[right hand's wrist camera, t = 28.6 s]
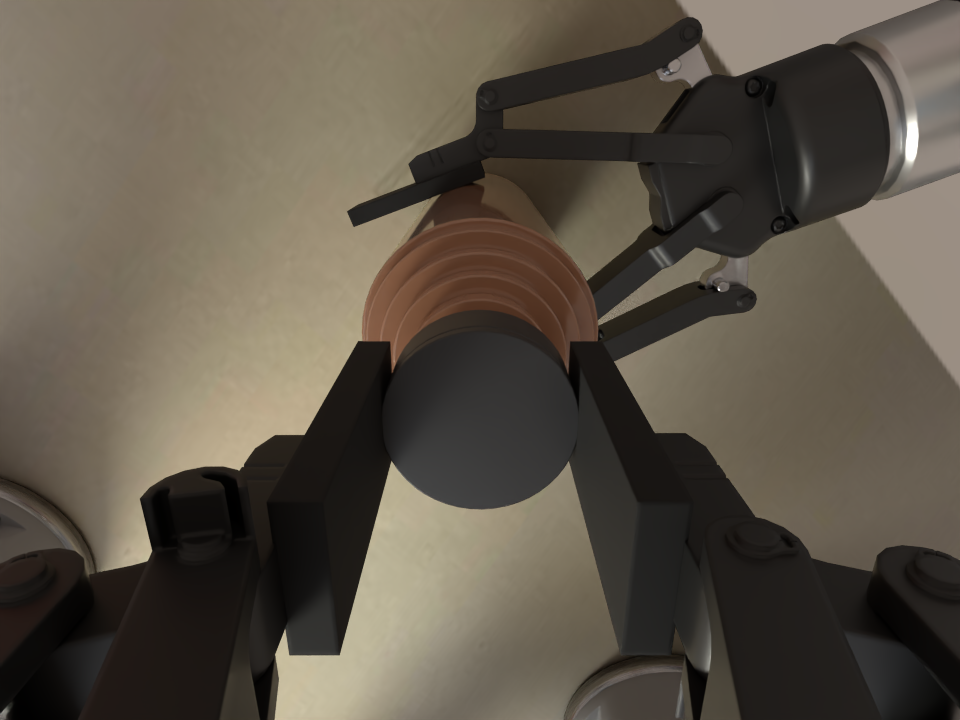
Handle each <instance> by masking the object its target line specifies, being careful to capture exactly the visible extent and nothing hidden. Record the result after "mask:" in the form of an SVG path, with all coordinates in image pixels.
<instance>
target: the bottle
mask: <svg viewBox="0 0 960 720" xmlns="http://www.w3.org/2000/svg"><path fill="white" fill-rule="evenodd" d="M469 310H492V311H498V312H503V313H507V314H510V315H513V316H516V317H518V318H520V319H522V320H525V321H526V322H528V323H530V324H531V325H533V326H535V327H536V328H537V329H538V330H540V331H541V332H542V333H543V334H545V335H546V337H547V338H548V339H549V340H550V341H551V342H552V343H553V344H554V346H555V347H556V349H557V350H558V352H559V353H560V355H561V357H562V359H563V361H564V363H565V366H566V369H567V372H568V370H569V352H570V341H598V318H597V311H596V306H595V302H594V298H593V296H592V293H591V290H590V288H589V285H588V283H587V281H586V279H585V278H584V276H583V274H582V272H581V271H580V269H579V268H578V266H577V265H576V264H575V262H574V261H573V259H572V258H571V256H570V255H569V254H568V252H567V251H566V249H565V248H564V247H563V245H562V244H561V242H560V241H559V240H558V238H557V237H556V235H555V234H554V232H553V231H552V230H551V228H550V227H549V225H548V224H547V223H546V221H545V220H544V218H543V217H542V216H541V214H540V213H539V211H538V210H537V208H536V207H535V206H534V204H533V203H532V201H531V200H530V199H529V197H528V196H527V195H526V193H525V192H524V191H523V190H522V189H521V188H520V187H518V186H517V185H516V184H514V183H513V182H511V181H509V180H508V179H506V178H503V177H501V176H498V175H494V174H490V173H485V178H482V179H480V180H477V181H474V182H472V183H469V184H466V185H464V186H461V187H459V188H456V189H453V190H451V191H448V192H445V193H443V194H440V195H437V196H435V197H432V198H431V199H430V200H429V202H428V203H427V204H426V206H425V207H424V209H423V210H422V211H421V213H420V214H419V216H418V217H417V219H416V220H415V221H414V223H413V224H412V226H411V227H410V229H409V230H408V231H407V233H406V234H405V236H404V237H403V238H402V240H401V241H400V243H399V244H398V246H397V247H396V248H395V250H394V251H393V253H392V254H391V256H390V257H389V258H388V260H387V261H386V263H385V264H384V266H383V267H382V268H381V270H380V271H379V273H378V274H377V276H376V278H375V280H374V282H373V284H372V286H371V288H370V291H369V294H368V296H367V299H366V302H365V307H364V313H363V320H362V339H363V341H390V345H391V363H392V372H393V370H394V367H395V364H396V362H397V360H398V358H399V356H400V354H401V352H402V351H403V349H404V348H405V346H406V345H407V344H408V343H409V341H410V340H411V339H412V338H413V337H414V336H415V335H416V334H417V333H418V332H419V331H420V330H422V329H423V328H425V327H426V326H427V325H429V324H430V323H432V322H434V321H436V320H438V319H440V318H442V317H445V316H448V315H450V314H453V313H458V312H462V311H469Z"/></svg>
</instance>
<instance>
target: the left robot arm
mask: <svg viewBox="0 0 960 720" xmlns="http://www.w3.org/2000/svg"><path fill="white" fill-rule="evenodd" d="M702 32H703V30H702V26H701V24H700V22H699V21H698V20H697V19H695V18H693V17H687V18H685V19H682V20H680V21H679V22H677V23H675V24H673V25H671V26H669V27H667V28H666V29H664V30H663V31H661V32H660V33H658V34H657V35H655V36H654V37H652V38H651V39H649V40H648V41H646V42H645V43H643V44H642V45H638V46H634V47H630V48H626V49H621V50H617V51H613V52H609V53H605V54H600V55H596V56H592V57H588V58H584V59H580V60H575V61H571V62H567V63H563V64H559V65H554V66H550V67H546V68H542V69H538V70H533V71H529V72H525V73H521V74H517V75H512V76H508V77H504V78H500V79H496V80H491V81H487V82H485V83H483V84H482V85H481V86H480V87H479V88H478V91H477V93H476V125H475V127H474V129H473V131H472V132H471V133H470V134H469V135H468V136H466V137H464V138H461V139H459V140H456V141H454V142H451V143H448V144H446V145H443V146H441V147H438V148H435V149H433V150H430V151H428V152H425V153H423V154H420V155H418V156H416V157H415V158H414V159H413V160H412V161H411V162H410V163H409V167H410V169H411V172H412V175H413V177H414V180H415V182H416V183H413V184H411V185H408V186H405V187H403V188H400V189H398V190H395V191H392V192H390V193H387V194H385V195H382V196H379V197H377V198H374V199H371V200H369V201H366V202H364V203H361V204H358V205H357V206H355V207H353V208H352V209H350V210H349V211H347V212H348V215H349V217H350V219H351V222H352V224H353V226H354V227H355V226H358V225H360V224H363V223H366V222H368V221H371V220H374V219H376V218H379V217H382V216H384V215H387V214H389V213H392V212H395V211H397V210H400V209H403V208H405V207H408V206H411V205H413V204H416V203H419V202H421V201H424V200H427V199H429V198H432V197H435V196H437V195H440V194H443V193H445V192H448V191H451V190H453V189H456V188H459V187H461V186H464V185H466V184H469V183H472V182H474V181H477V180H480V179H482V178H485V172H484V169H483V167H482V164H481V161H482V160H485V159H487V158H490V157H494V158H531V159H568V160H605V161H631V162H640V163H637V164H638V168H639V172H640V175H641V179H642V181H643V182H644V184H645V186H646V188H647V189H648V191H649V211H650V215H651V219H652V222H653V224H652V225H651V226H649V227H648V228H647V229H646V230H644V231H643V232H642V233H641V234H640V235H639V236H638V238H637V240H636V241H635V242H634V243H633V244H632V245H630V246H629V247H628V248H627V249H626V250H624V251H623V252H622V253H621V254H619V255H618V256H617V257H616V258H615V259H613V260H612V261H611V262H610V263H608V264H607V265H606V266H605V267H603V268H602V269H601V270H600V271H599V272H597V273H596V274H595V275H594V276H592V277H591V278H590V279H589V280H588V281H587V283H588V285H589V288H590V290H591V293H592V296H593V298H594V302H595V306H596V311H597V318H598V320H599V319H600V318H601V317H602V316H604V315H605V314H606V313H607V312H609V311H610V310H611V309H613V308H614V307H615V306H616V305H618V304H619V303H620V302H621V301H623V300H624V299H625V298H626V297H628V296H629V295H630V294H631V293H633V292H634V291H635V290H636V289H638V288H639V287H640V286H642V285H643V284H644V283H645V282H647V281H648V280H649V279H650V278H652V277H653V276H654V275H655V274H657V273H658V272H659V271H660V270H662V269H664V268H666V267H670V266H672V265H674V264H675V263H676V262H678V261H679V260H680V259H682V258H683V257H684V256H685V255H687V254H688V253H689V252H690V251H692V250H693V249H694V248H695V247H697V248H700V249H703V250H707V251H710V252H713V253H717V254H720V255H721V259H720V261H719V262H718V264H717V265H716V266H714V267H712V268H710V269H707V270H706V271H704V272H703V273H702V275H701V277H700V281H697V282H692V283H689V284H686V285H683V286H681V287H678V288H676V289H674V290H672V291H670V292H668V293H666V294H664V295H661V296H659V297H657V298H655V299H653V300H651V301H649V302H647V303H645V304H643V305H641V306H639V307H637V308H634V309H632V310H630V311H628V312H626V313H624V314H622V315H620V316H618V317H616V318H614V319H612V320H609V321H607V322H605V323H603V324H601V325H599V326H598V341H602V342H603V344H604V345H605V347H606V349H607V351H608V352H609V354H610V356H611V358H612V359H613V361H616V360H618V359H620V358H622V357H625V356H627V355H629V354H631V353H633V352H635V351H637V350H640V349H642V348H644V347H646V346H648V345H650V344H652V343H654V342H657V341H659V340H661V339H663V338H665V337H667V336H669V335H672V334H674V333H676V332H678V331H680V330H682V329H684V328H687V327H689V326H691V325H693V324H695V323H697V322H699V321H702V320H704V319H706V318H708V317H711V316H719V315H727V314H735V313H743V312H747V311H749V310H751V309H752V308H753V307H754V305H755V304H756V300H757V298H756V294H755V293H754V291H752V290H750V289H749V288H748V256H749V255H751V254H752V253H754V252H755V251H756V250H757V249H758V248H759V247H760V246H761V245H762V244H763V243H765V242H766V241H767V240H769V239H770V238H772V237H774V236H776V235H779V234H783V233H786V232H789V231H793V230H796V229H799V228H801V227H804V226H807V225H810V224H813V223H816V222H819V221H822V220H825V219H827V218H830V217H833V216H836V215H839V214H842V213H845V212H848V211H851V210H853V209H856V208H859V207H862V206H864V205H865V204H867V203H868V202H869V201H870V200H871V199H873V200H882V199H887V198H890V197H893V196H896V195H899V194H901V193H904V192H907V191H910V190H912V189H915V188H918V187H920V186H923V185H926V184H929V183H932V182H934V181H937V180H940V179H943V178H945V177H948V176H951V175H954V174H956V173H959V172H960V0H940V1H937V2H934V3H931V4H929V5H926V6H923V7H921V8H918V9H915V10H913V11H910V12H907V13H905V14H902V15H899V16H897V17H894V18H891V19H889V20H886V21H883V22H881V23H878V24H875V25H872V26H870V27H867V28H864V29H862V30H859V31H856V32H854V33H851V34H849V35H847V36H845V37H843V38H841V39H840V40H839V41H838V42H837V43H835V44H822V45H819V46H817V47H814V48H812V49H809V50H806V51H804V52H801V53H798V54H796V55H793V56H790V57H788V58H785V59H782V60H780V61H777V62H774V63H772V64H769V65H766V66H764V67H761V68H758V69H756V70H753V71H750V72H748V73H745V74H742V75H740V76H736V77H730V76H724V75H712V73H711V71H710V69H709V66H708V64H707V62H706V60H705V57H704V55H703V53H702V51H701V48H700V46H699V44H698V43H699V41H700V39H701V37H702ZM649 73H650V74H651V76H652V78H653V79H654V80H655V81H656V82H658V83H668V82H672V81H678V82H680V83H681V84H683V86H684V87H685V90H684V92H683V93H682V94H681V96H680V97H679V98H678V100H677V101H676V102H675V104H674V105H673V107H672V108H671V109H670V111H669V112H668V113H667V115H666V116H665V117H664V119H663V120H662V122H661V123H660V124H659V126H658V127H657V128H656V130H655V131H654V133H626V132H590V131H554V130H517V129H503V110H504V109H508V108H513V107H517V106H521V105H525V104H530V103H534V102H538V101H543V100H547V99H551V98H555V97H560V96H564V95H568V94H572V93H577V92H581V91H585V90H589V89H594V88H598V87H602V86H607V85H611V84H615V83H619V82H624V81H627V80H631V79H634V78H637V77H640V76H643V75H646V74H649ZM684 657H685V656H682V655H673V654H671V655H647V656H640V657H636V658H631V659H628V660H625V661H622V662H619V663H616V664H614V665H612V666H610V667H608V668H605V669H604V670H602V671H600V672H599V673H597V674H596V675H594V676H593V677H591V678H590V679H589V680H588V681H587V682H585V683H584V684H583V685H582V686H581V687H580V688H579V689H578V691H577V692H576V693H575V694H574V696H573V697H572V699H571V701H570V703H569V705H568V707H567V709H566V712H565V716H564V720H686V717H685V711H684V716H683V719H682V718H676V717H675V714H676V707H677V701H678V695H679V688H680V682H681V676H682V670H683V664H684Z"/></svg>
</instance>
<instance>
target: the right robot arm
mask: <svg viewBox="0 0 960 720" xmlns="http://www.w3.org/2000/svg"><path fill="white" fill-rule="evenodd" d="M568 374H569V377H570V380H571V383H572V386H573V388H574V391H575V394H576V397H577V401H578V406H579V413H578V429H577V442H576V446H575V448H574V451H573V453H572V455H571V457H570V459H569V463H570V466H571V470H572V474H573V478H574V481H575V485H576V489H577V493H578V496H579V500H580V504H581V508H582V511H583V515H584V519H585V523H586V526H587V530H588V534H589V538H590V541H591V545H592V549H593V553H594V556H595V560H596V564H597V568H598V571H599V575H600V579H601V583H602V586H603V590H604V594H605V598H606V601H607V605H608V609H609V613H610V616H611V620H612V624H613V628H614V631H615V635H616V639H617V643H618V646H619V650H620V654H621V655H671V652H672V645H673V639H674V632H675V626H676V629H677V631H678V634H679V636H680V639H681V641H682V644H683V646H684V649H685V657H684V664H683V670H682V676H681V682H680V688H679V695H678V701H677V707H676V714H675V717H676V718H682V719H683V716H684V711H685V717H686V720H960V560H958V559H956V558H954V557H952V556H950V555H948V554H946V553H943V552H940V551H934V550H933V549H928V548H923V547H914V546H904V545H901V546H895V547H889V548H886V549H884V550H883V551H882V552H881V553H880V554H878V555H877V558H876V561H875V565H874V568H873V572H870V571H865V570H860V569H855V568H851V567H846V566H841V565H836V564H831V563H827V562H823V561H819V560H816V559H812V558H811V557H810V554H809V552H808V550H807V549H806V547H805V546H804V545H803V543H802V542H801V541H800V539H799V538H798V537H796V536H795V535H794V534H792V533H791V532H789V531H788V530H787V529H785V528H784V527H782V526H779V525H777V524H775V523H772V522H770V521H768V520H765V519H761V518H756V517H755V516H754V514H753V513H752V511H751V510H750V508H749V507H748V506H747V504H746V503H745V501H744V500H743V499H742V497H741V496H740V494H739V493H738V492H737V490H736V489H735V487H734V486H733V484H732V483H731V482H730V480H729V479H728V478H726V475H725V473H724V472H723V470H722V469H721V468H720V466H719V465H717V462H716V460H715V459H714V458H713V456H712V455H711V453H710V452H709V451H708V449H707V448H706V446H704V445H703V444H701V443H699V442H698V441H696V440H695V439H693V438H692V437H690V436H689V435H687V434H686V433H654V431H653V429H652V428H651V426H650V424H649V422H648V421H647V419H646V417H645V415H644V414H643V412H642V410H641V408H640V407H639V405H638V403H637V401H636V400H635V398H634V396H633V394H632V393H631V391H630V389H629V387H628V386H627V384H626V382H625V380H624V379H623V377H622V375H621V373H620V372H619V370H618V368H617V366H616V365H615V363H614V361H613V359H612V358H611V356H610V354H609V352H608V351H607V349H606V347H605V345H604V344H603V342H602V341H570V352H569V370H568ZM391 375H392V363H391V345H390V341H358V343H357V344H356V346H355V348H354V350H353V351H352V353H351V355H350V357H349V358H348V360H347V362H346V364H345V365H344V367H343V369H342V371H341V372H340V374H339V376H338V378H337V379H336V381H335V383H334V385H333V386H332V388H331V390H330V392H329V393H328V395H327V397H326V399H325V400H324V402H323V404H322V406H321V407H320V409H319V411H318V413H317V414H316V416H315V418H314V420H313V421H312V423H311V425H310V427H309V428H308V430H307V432H306V434H305V435H275V436H273V437H272V438H270V439H269V440H267V441H266V442H264V443H263V444H261V445H260V446H258V447H257V448H255V449H254V451H253V452H252V454H251V455H250V456H249V458H248V459H247V461H246V462H245V464H244V467H242V468H241V469H240V471H238V470H235V469H231V468H227V467H201V468H196V469H191V470H186V471H183V472H180V473H177V474H175V475H172V476H169V477H166V478H165V479H163V480H161V481H160V482H158V483H156V484H155V485H153V486H152V487H150V488H149V489H148V490H147V491H146V492H145V494H144V495H143V496H142V497H141V498H140V501H141V505H142V510H143V514H144V518H145V522H146V526H147V531H148V535H149V539H150V543H151V547H152V553H151V555H150V558H149V560H148V561H147V562H143V563H140V564H136V565H132V566H127V567H123V568H118V569H113V570H108V571H103V572H98V573H95V569H94V564H93V560H92V557H91V554H90V552H89V549H88V547H87V545H86V543H85V542H84V540H83V538H82V537H81V535H80V534H79V532H78V531H77V530H76V528H75V527H74V526H73V525H72V523H71V522H70V521H69V520H68V519H67V518H66V517H65V516H64V515H63V514H62V513H61V512H60V511H59V510H58V509H56V508H55V507H54V506H53V505H52V504H50V503H49V502H47V501H46V500H45V499H43V498H42V497H40V496H38V495H37V494H35V493H33V492H32V491H30V490H28V489H26V488H24V487H22V486H20V485H18V484H15V483H13V482H10V481H8V480H5V479H2V478H0V720H274V719H275V710H276V701H277V691H278V682H279V677H278V670H277V664H276V657H275V653H276V651H277V648H278V646H279V643H280V640H281V638H282V635H283V633H284V630H285V629H286V636H287V642H288V649H289V655H340V652H341V648H342V644H343V640H344V637H345V633H346V629H347V625H348V622H349V618H350V614H351V610H352V607H353V603H354V599H355V595H356V592H357V588H358V584H359V580H360V577H361V573H362V569H363V565H364V562H365V558H366V554H367V550H368V547H369V543H370V539H371V535H372V532H373V528H374V524H375V520H376V517H377V513H378V509H379V505H380V502H381V498H382V494H383V490H384V487H385V483H386V479H387V475H388V471H389V468H390V464H391V458H390V456H389V454H388V452H387V450H386V447H385V444H384V438H383V423H382V403H383V399H384V395H385V392H386V389H387V387H388V384H389V381H390V378H391Z"/></svg>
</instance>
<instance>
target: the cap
mask: <svg viewBox="0 0 960 720" xmlns="http://www.w3.org/2000/svg"><path fill="white" fill-rule="evenodd" d="M578 413H579V406H578V401H577V397H576V394H575V391H574V388H573V386H572V383H571V380H570V377H569V374H568V372H567V369H566V366H565V363H564V361H563V359H562V357H561V355H560V353H559V352H558V350H557V349H556V347H555V346H554V344H553V343H552V342H551V341H550V340H549V339H548V338H547V337H546V335H545V334H543V333H542V332H541V331H540V330H538V329H537V328H536V327H535V326H533V325H531V324H530V323H528V322H526V321H525V320H522V319H520V318H518V317H516V316H513V315H510V314H507V313H503V312H498V311H492V310H469V311H462V312H458V313H453V314H450V315H448V316H445V317H442V318H440V319H438V320H436V321H434V322H432V323H430V324H429V325H427V326H426V327H425V328H423V329H422V330H420V331H419V332H418V333H417V334H416V335H415V336H414V337H413V338H412V339H411V340H410V341H409V343H408V344H407V345H406V346H405V348H404V349H403V351H402V352H401V354H400V356H399V358H398V360H397V362H396V364H395V367H394V370H393V372H392V375H391V378H390V381H389V384H388V387H387V389H386V392H385V395H384V399H383V403H382V423H383V438H384V444H385V447H386V450H387V452H388V454H389V456H390V458H391V460H392V462H393V463H394V465H395V467H396V468H397V470H398V471H399V472H400V473H401V474H402V476H403V477H404V478H405V479H406V480H407V481H408V482H409V483H411V484H412V485H413V486H414V487H415V488H417V489H418V490H419V491H421V492H422V493H424V494H425V495H427V496H429V497H431V498H433V499H435V500H437V501H440V502H443V503H445V504H448V505H452V506H456V507H461V508H468V509H493V508H499V507H505V506H509V505H512V504H515V503H518V502H521V501H523V500H525V499H527V498H530V497H531V496H533V495H535V494H536V493H538V492H540V491H541V490H542V489H544V488H545V487H546V486H548V485H549V484H550V483H551V482H552V481H553V480H554V479H555V478H556V477H557V476H558V475H559V474H560V472H561V471H562V470H563V469H564V467H565V466H566V464H567V462H568V461H569V459H570V457H571V455H572V453H573V451H574V448H575V446H576V442H577V429H578Z"/></svg>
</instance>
